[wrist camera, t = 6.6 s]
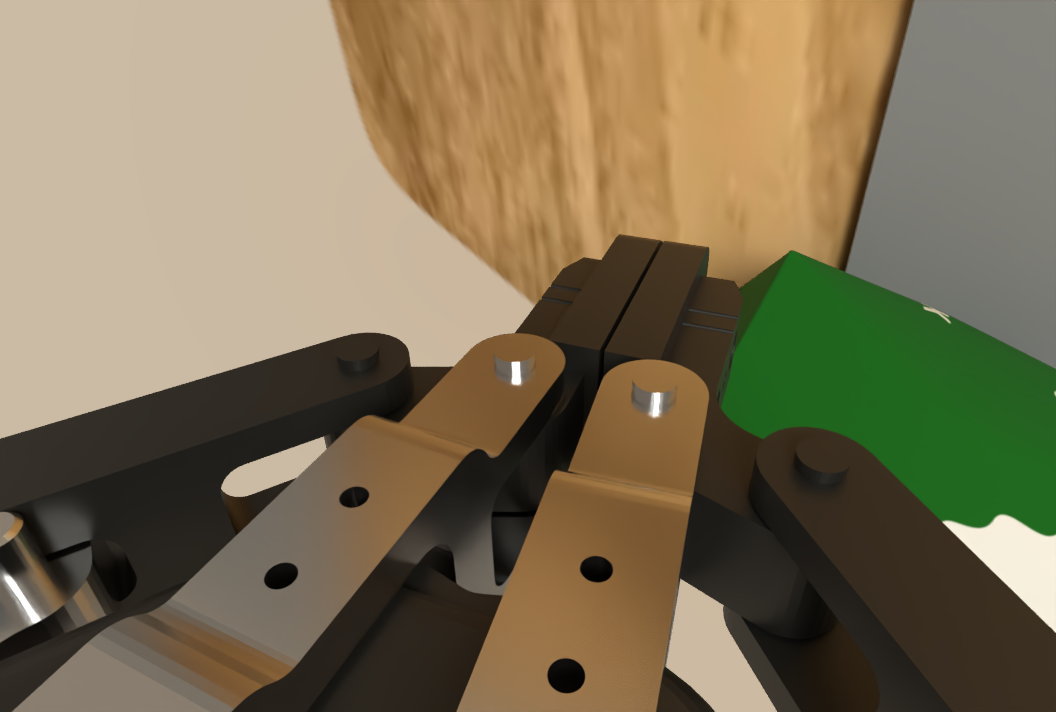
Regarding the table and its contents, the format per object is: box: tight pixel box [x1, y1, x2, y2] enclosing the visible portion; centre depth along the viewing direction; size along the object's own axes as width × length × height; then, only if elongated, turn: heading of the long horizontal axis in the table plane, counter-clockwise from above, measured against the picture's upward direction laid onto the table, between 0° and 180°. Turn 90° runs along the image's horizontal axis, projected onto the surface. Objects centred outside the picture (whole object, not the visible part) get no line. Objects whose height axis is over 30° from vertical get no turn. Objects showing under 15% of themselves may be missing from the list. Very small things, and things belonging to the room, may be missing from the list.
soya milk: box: [721, 250, 1056, 632], centre depth 21 cm, size 9×9×20 cm
